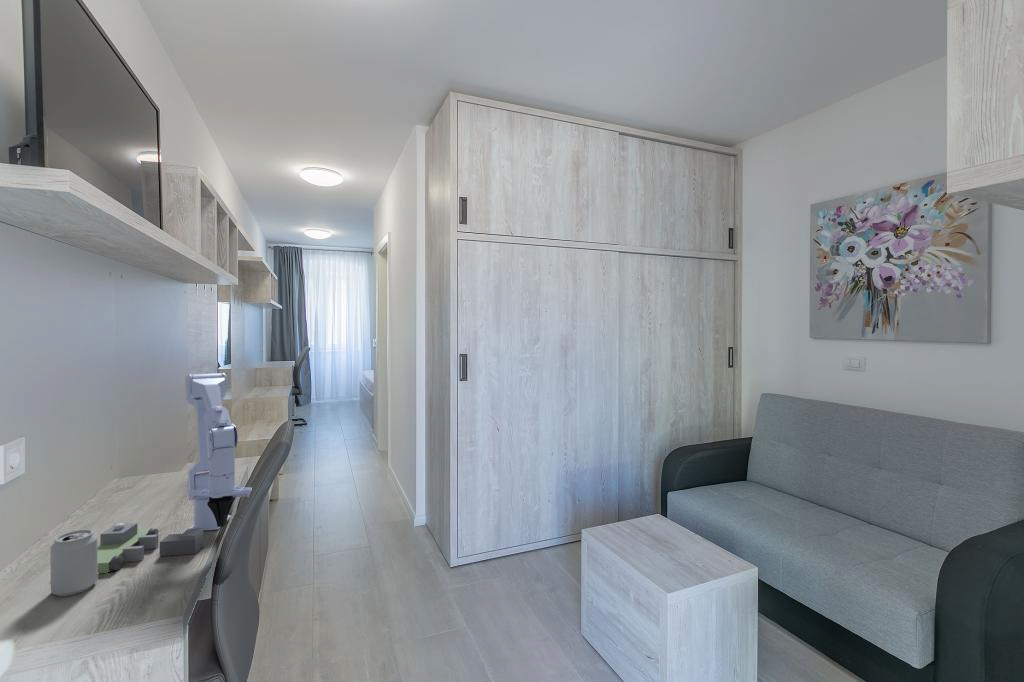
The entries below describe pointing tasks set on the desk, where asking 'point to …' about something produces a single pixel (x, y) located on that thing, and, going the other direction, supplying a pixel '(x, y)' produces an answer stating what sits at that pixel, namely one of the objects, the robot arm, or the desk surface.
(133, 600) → the desk surface
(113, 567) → the deck
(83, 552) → the can
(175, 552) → the grey rectangular box
